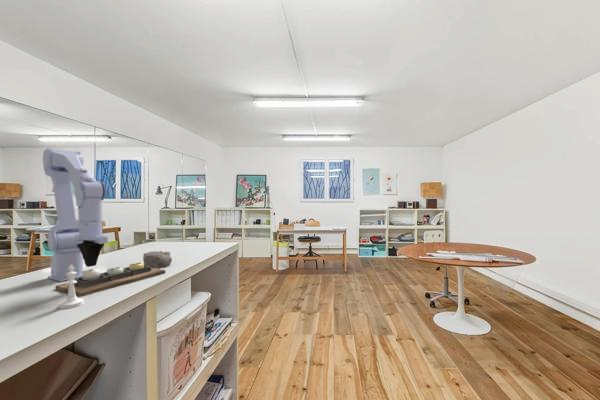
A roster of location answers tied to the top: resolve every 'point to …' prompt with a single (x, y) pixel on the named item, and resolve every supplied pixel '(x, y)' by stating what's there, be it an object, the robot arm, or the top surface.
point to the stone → (157, 259)
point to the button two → (115, 270)
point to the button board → (110, 280)
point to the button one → (90, 274)
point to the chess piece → (71, 292)
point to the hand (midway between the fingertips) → (91, 265)
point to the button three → (136, 266)
